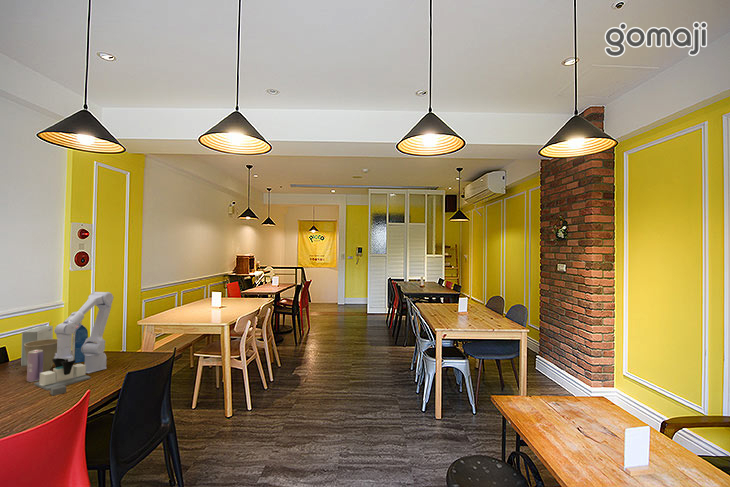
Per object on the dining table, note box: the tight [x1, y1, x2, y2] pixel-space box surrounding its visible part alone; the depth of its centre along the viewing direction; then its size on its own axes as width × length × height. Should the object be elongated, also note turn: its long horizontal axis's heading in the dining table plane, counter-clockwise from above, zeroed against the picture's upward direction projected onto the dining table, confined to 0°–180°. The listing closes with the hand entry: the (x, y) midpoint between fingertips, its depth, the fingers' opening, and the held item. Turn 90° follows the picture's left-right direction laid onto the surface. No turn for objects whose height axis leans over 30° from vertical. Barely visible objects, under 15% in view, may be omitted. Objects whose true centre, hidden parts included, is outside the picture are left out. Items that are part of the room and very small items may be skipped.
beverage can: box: [26, 350, 43, 383], centre depth 182 cm, size 6×6×15 cm
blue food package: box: [71, 320, 89, 364], centre depth 216 cm, size 6×12×25 cm, turn 46°
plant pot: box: [24, 338, 57, 372], centre depth 195 cm, size 15×15×16 cm
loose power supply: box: [49, 385, 67, 397], centre depth 166 cm, size 5×4×3 cm
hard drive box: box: [20, 325, 54, 367], centre depth 211 cm, size 16×8×20 cm, turn 14°
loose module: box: [52, 366, 74, 382], centre depth 180 cm, size 7×4×6 cm, turn 153°
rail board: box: [33, 363, 92, 391], centre depth 180 cm, size 18×14×6 cm
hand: (63, 373), depth 180 cm, fingers open, 7 cm apart
